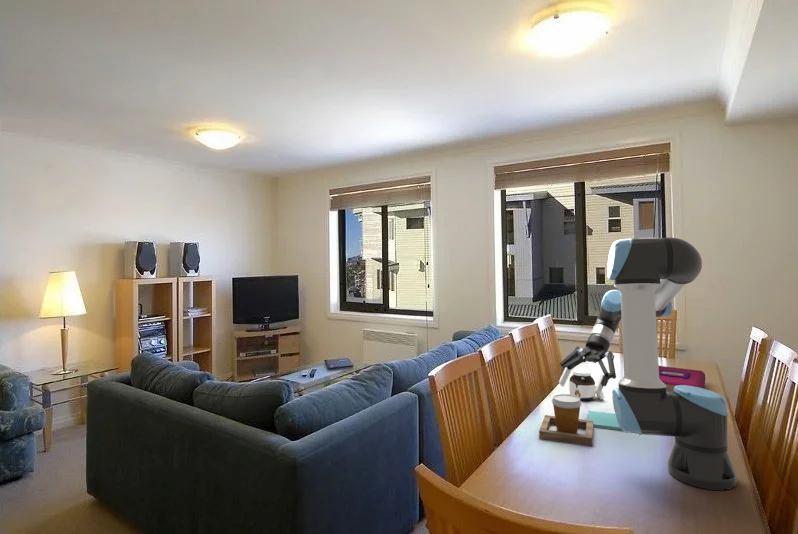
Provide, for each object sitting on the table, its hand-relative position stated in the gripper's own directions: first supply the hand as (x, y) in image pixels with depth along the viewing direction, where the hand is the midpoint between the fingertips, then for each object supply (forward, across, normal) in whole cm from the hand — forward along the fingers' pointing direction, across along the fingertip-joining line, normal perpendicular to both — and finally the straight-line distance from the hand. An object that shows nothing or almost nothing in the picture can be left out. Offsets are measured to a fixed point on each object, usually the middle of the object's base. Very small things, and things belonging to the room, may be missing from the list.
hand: (578, 388), depth 155 cm
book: (-40, -4, -60) cm, 73 cm away
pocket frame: (+16, -1, -3) cm, 16 cm away
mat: (+1, -5, -18) cm, 18 cm away
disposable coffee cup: (+16, -1, -4) cm, 16 cm away
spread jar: (-12, +14, -32) cm, 37 cm away
